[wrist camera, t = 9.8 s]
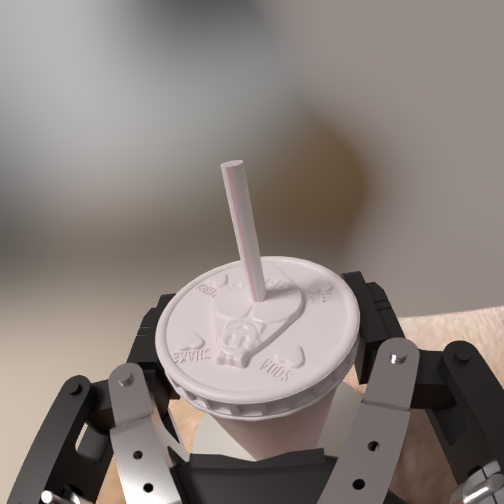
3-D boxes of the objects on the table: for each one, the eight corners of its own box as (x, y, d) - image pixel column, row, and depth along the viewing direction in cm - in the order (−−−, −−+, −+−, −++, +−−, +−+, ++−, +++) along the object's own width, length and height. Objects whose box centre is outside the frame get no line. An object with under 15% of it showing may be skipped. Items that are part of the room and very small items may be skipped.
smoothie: (350, 398, 16) (362, 134, 8) (330, 501, 11) (374, 245, 3) (245, 385, 18) (176, 150, 11) (206, 476, 13) (38, 242, 6)
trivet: (283, 362, 22) (281, 345, 21) (408, 433, 15) (416, 420, 14) (170, 455, 17) (158, 444, 16) (291, 566, 9) (288, 567, 8)
